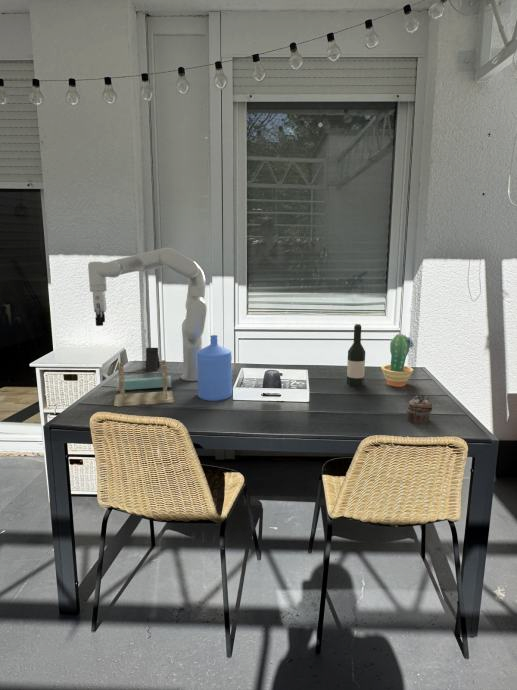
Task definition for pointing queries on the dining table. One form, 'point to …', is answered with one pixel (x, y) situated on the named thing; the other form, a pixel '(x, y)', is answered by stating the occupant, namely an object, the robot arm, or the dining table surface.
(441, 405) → the dining table surface
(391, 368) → the potted cactus
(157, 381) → the teal long bar
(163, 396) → the stand
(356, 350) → the wine bottle
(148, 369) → the phone stand
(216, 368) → the water jug
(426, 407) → the cupcake
